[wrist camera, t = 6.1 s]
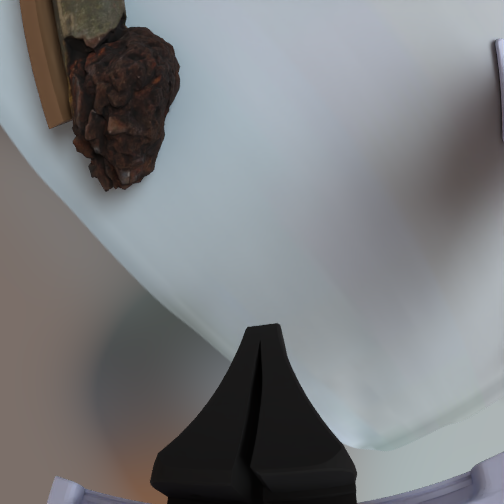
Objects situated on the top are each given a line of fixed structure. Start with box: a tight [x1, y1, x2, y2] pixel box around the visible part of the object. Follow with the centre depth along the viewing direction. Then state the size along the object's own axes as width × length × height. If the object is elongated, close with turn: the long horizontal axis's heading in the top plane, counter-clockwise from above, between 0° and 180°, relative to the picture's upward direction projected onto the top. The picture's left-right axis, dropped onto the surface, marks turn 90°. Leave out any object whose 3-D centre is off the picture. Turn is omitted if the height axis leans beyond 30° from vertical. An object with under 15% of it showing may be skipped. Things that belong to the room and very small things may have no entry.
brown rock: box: [52, 0, 180, 191], centre depth 13 cm, size 18×7×6 cm, turn 11°
